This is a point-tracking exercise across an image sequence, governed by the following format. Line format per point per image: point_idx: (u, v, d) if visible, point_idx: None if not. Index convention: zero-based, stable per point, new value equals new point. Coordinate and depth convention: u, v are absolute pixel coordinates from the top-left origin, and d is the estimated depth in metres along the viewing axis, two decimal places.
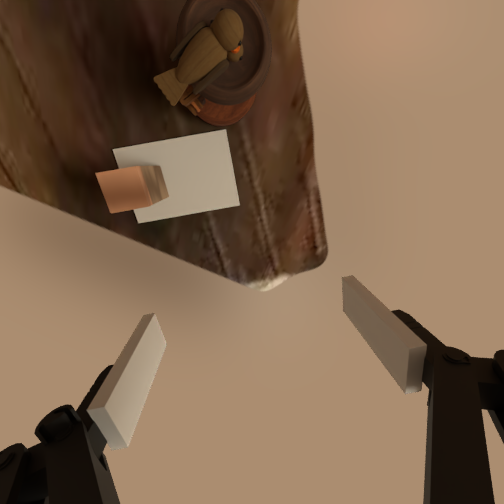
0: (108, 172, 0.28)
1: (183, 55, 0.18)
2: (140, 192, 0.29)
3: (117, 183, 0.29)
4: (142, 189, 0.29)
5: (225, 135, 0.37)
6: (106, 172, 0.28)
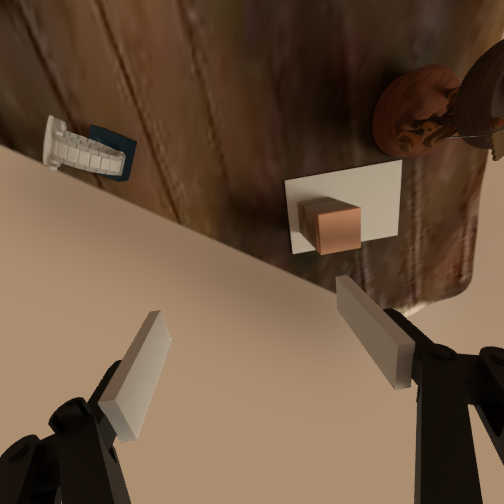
0: (331, 214, 0.27)
1: None
2: (357, 233, 0.28)
3: (336, 225, 0.28)
4: (359, 230, 0.28)
5: (400, 165, 0.35)
6: (330, 214, 0.27)
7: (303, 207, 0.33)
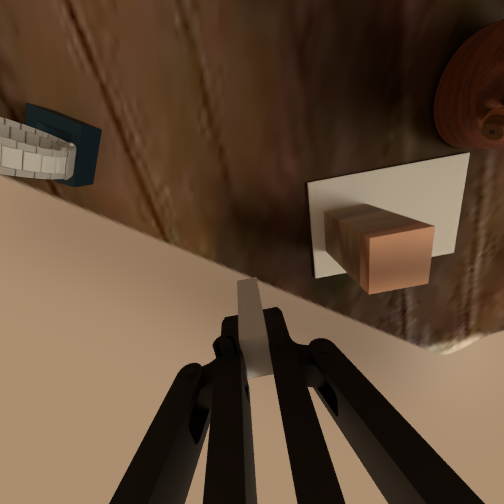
0: (390, 236, 0.18)
1: None
2: (424, 263, 0.19)
3: (395, 252, 0.18)
4: (429, 259, 0.19)
5: (466, 161, 0.26)
6: (387, 236, 0.18)
7: (336, 220, 0.24)
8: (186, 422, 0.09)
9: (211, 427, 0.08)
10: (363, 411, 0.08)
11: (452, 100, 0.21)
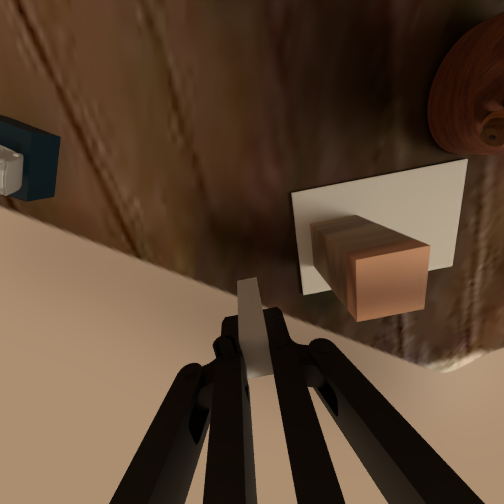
0: (379, 257, 0.15)
1: None
2: (419, 287, 0.16)
3: (386, 275, 0.16)
4: (424, 282, 0.16)
5: (464, 168, 0.24)
6: (376, 257, 0.15)
7: (321, 235, 0.21)
8: (186, 422, 0.09)
9: (211, 427, 0.08)
10: (363, 411, 0.08)
11: (447, 102, 0.19)
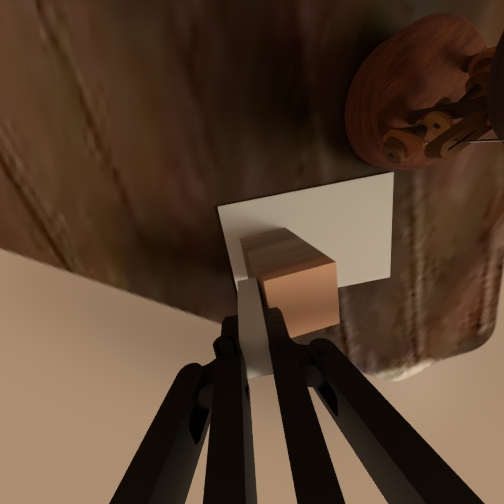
0: (287, 277, 0.15)
1: None
2: (332, 302, 0.16)
3: (297, 294, 0.16)
4: (336, 298, 0.16)
5: (391, 181, 0.24)
6: (284, 277, 0.15)
7: (246, 251, 0.21)
8: (186, 422, 0.09)
9: (211, 427, 0.08)
10: (363, 411, 0.08)
11: (357, 118, 0.19)
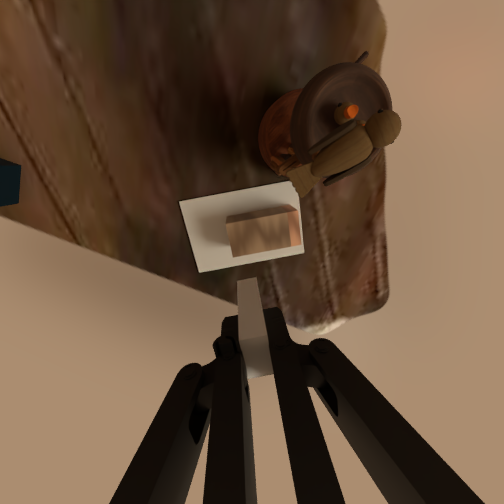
0: None
1: (327, 153, 0.17)
2: None
3: None
4: None
5: None
6: (295, 209, 0.33)
7: (252, 220, 0.32)
8: (186, 423, 0.09)
9: (211, 427, 0.08)
10: (363, 411, 0.08)
11: (261, 146, 0.31)
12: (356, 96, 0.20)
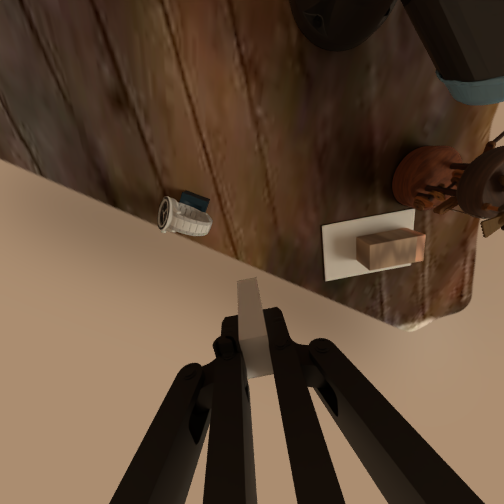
0: (419, 233, 0.42)
1: None
2: None
3: None
4: None
5: (413, 213, 0.45)
6: (419, 233, 0.42)
7: (390, 242, 0.41)
8: (186, 422, 0.09)
9: (211, 427, 0.08)
10: (363, 411, 0.08)
11: (400, 186, 0.40)
12: None
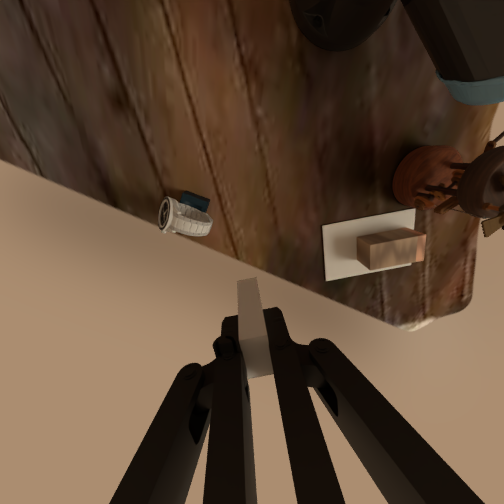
0: None
1: None
2: None
3: None
4: None
5: (414, 212, 0.45)
6: (420, 233, 0.42)
7: (390, 242, 0.41)
8: (186, 422, 0.09)
9: (211, 427, 0.08)
10: (363, 411, 0.08)
11: (400, 186, 0.40)
12: None
